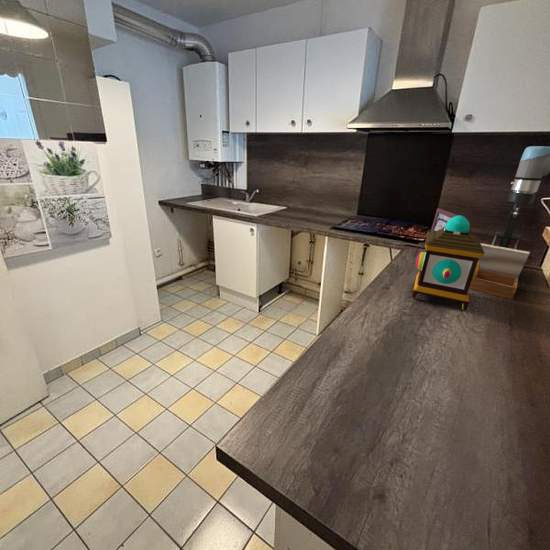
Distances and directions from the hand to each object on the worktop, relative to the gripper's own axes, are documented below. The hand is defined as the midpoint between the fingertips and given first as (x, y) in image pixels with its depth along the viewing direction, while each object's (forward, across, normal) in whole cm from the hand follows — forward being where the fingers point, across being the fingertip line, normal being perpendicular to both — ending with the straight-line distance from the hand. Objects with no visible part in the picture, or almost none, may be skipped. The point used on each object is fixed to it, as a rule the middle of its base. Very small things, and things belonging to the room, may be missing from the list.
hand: (501, 252), depth 116 cm
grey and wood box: (+2, +5, 0) cm, 5 cm away
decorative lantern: (+13, +29, -14) cm, 35 cm away
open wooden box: (+13, +7, 0) cm, 15 cm away
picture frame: (+13, -10, -21) cm, 27 cm away
